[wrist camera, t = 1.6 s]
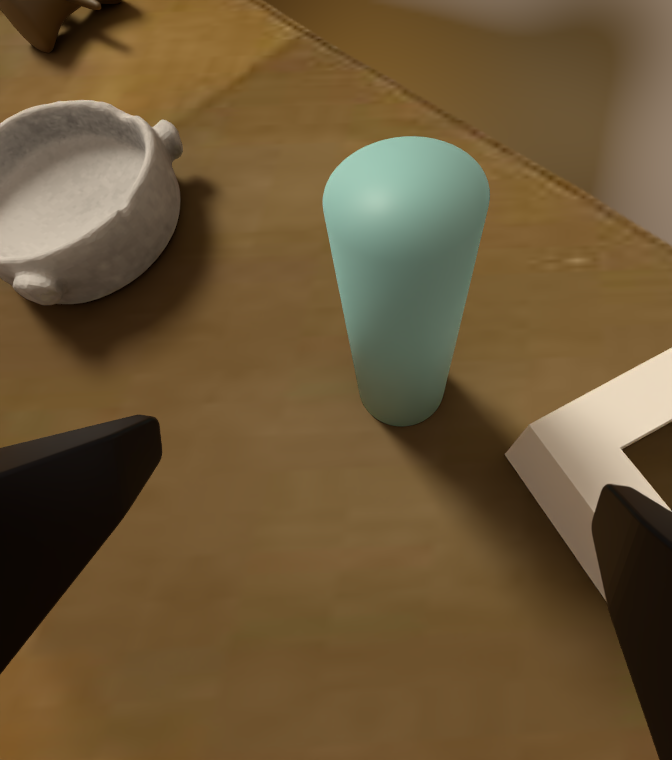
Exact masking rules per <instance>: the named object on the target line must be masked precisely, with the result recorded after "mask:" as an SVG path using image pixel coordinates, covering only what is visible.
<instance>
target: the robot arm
mask: <svg viewBox="0 0 672 760" xmlns="http://www.w3.org/2000/svg"><path fill="white" fill-rule="evenodd" d="M161 456H162V443H161V435H160V426H159V422H158V420H157V419H156V418H155V417H152V416H145V415H134V416H130V417H126V418H122V419H118V420H114V421H110V422H106V423H102V424H97V425H93V426H89V427H85V428H81V429H77V430H73V431H69V432H65V433H60V434H56V435H52V436H48V437H44V438H40V439H36V440H32V441H28V442H23V443H19V444H15V445H11V446H7V447H3V448H0V674H1V673H2V671H3V670H4V669H5V668H6V666H7V665H8V664H9V663H10V661H11V660H12V659H13V658H14V656H15V655H16V654H17V652H18V651H19V650H20V649H21V647H22V646H23V645H24V644H25V642H26V641H27V640H28V639H29V637H30V636H31V635H32V633H33V632H34V631H35V630H36V628H37V627H38V626H39V625H40V623H41V622H42V621H43V620H44V618H45V617H46V616H47V614H48V613H49V612H50V611H51V609H52V608H53V607H54V606H55V604H56V603H57V602H58V601H59V599H60V598H61V597H62V595H63V594H64V593H65V592H66V590H67V589H68V588H69V587H70V585H71V584H72V583H73V581H74V580H75V579H76V578H77V576H78V575H79V574H80V573H81V571H82V570H83V569H84V568H85V566H86V565H87V564H88V562H89V561H90V560H91V559H92V557H93V556H94V555H95V554H96V552H97V551H98V550H99V549H100V547H101V546H102V545H103V543H104V542H105V541H106V540H107V538H108V537H109V536H110V535H111V533H112V532H113V531H114V530H115V528H116V527H117V526H118V524H119V523H120V522H121V520H122V519H123V518H124V516H125V515H126V513H127V512H128V510H129V509H130V507H131V506H132V504H133V503H134V501H135V500H136V498H137V497H138V495H139V493H140V492H141V490H142V489H143V487H144V486H145V484H146V482H147V481H148V479H149V478H150V476H151V475H152V473H153V471H154V470H155V468H156V467H157V465H158V464H159V462H160V459H161ZM591 530H592V537H593V541H594V546H595V551H596V555H597V560H598V565H599V569H600V574H601V579H602V583H603V588H604V593H605V597H606V601H607V605H608V609H609V613H610V616H611V619H612V622H613V625H614V628H615V631H616V634H617V637H618V640H619V643H620V646H621V649H622V652H623V654H624V657H625V660H626V663H627V666H628V669H629V672H630V675H631V678H632V681H633V684H634V687H635V689H636V692H637V695H638V698H639V701H640V704H641V707H642V710H643V713H644V716H645V719H646V722H647V724H648V727H649V730H650V733H651V736H652V739H653V742H654V745H655V748H656V751H657V754H658V757H659V759H660V760H672V512H671V511H670V510H668V509H666V508H665V507H663V506H661V505H660V504H658V503H657V502H655V501H653V500H652V499H650V498H648V497H647V496H645V495H643V494H642V493H640V492H639V491H637V490H635V489H634V488H632V487H629V486H623V485H616V484H606V485H605V486H604V487H603V488H602V490H601V493H600V496H599V499H598V503H597V506H596V509H595V513H594V516H593V519H592V525H591Z"/></svg>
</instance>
